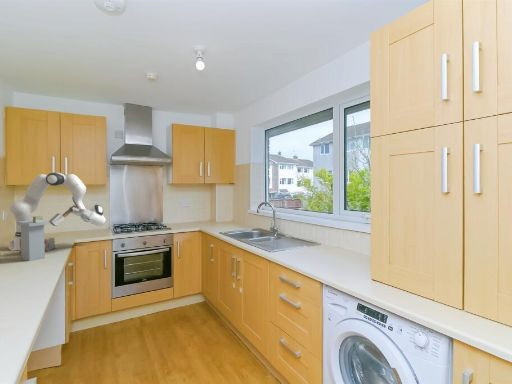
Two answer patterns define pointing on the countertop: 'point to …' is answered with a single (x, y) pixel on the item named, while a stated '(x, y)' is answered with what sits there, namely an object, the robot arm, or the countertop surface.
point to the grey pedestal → (32, 240)
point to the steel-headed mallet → (60, 217)
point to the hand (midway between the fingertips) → (71, 207)
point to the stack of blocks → (48, 244)
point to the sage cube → (37, 219)
